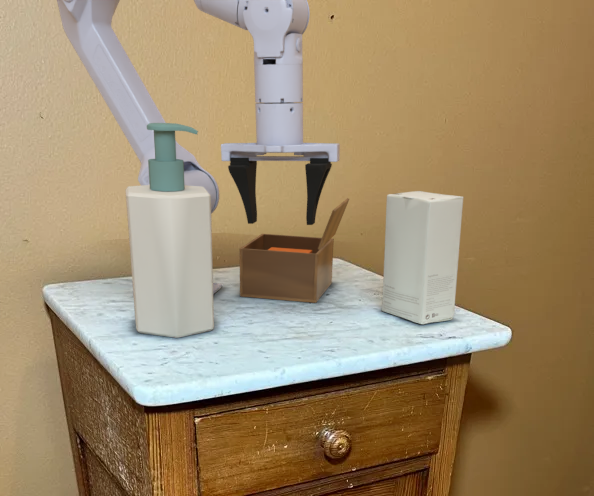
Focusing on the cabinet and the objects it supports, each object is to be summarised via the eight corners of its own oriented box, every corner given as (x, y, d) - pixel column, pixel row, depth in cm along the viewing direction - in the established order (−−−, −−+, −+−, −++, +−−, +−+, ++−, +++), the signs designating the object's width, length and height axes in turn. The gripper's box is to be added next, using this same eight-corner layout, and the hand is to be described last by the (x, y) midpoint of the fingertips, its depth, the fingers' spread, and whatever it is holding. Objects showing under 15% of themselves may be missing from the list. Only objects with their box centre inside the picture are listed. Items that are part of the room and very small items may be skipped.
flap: (347, 198, 109) (349, 198, 109) (333, 233, 112) (335, 234, 112) (332, 210, 99) (334, 211, 99) (317, 248, 102) (319, 249, 102)
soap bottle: (216, 337, 90) (211, 127, 80) (137, 339, 89) (121, 125, 78) (207, 313, 99) (201, 121, 88) (134, 315, 97) (119, 120, 87)
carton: (261, 277, 117) (261, 233, 114) (331, 283, 115) (333, 238, 112) (239, 296, 107) (239, 248, 104) (316, 303, 105) (318, 254, 102)
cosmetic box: (454, 320, 99) (469, 196, 92) (418, 326, 96) (432, 199, 89) (411, 305, 105) (422, 188, 98) (376, 310, 102) (386, 190, 95)
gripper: (211, 104, 90) (217, 226, 97) (333, 103, 88) (332, 229, 94) (227, 103, 96) (233, 218, 103) (343, 102, 94) (341, 220, 100)
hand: (281, 223), depth 99 cm, fingers open, 7 cm apart
